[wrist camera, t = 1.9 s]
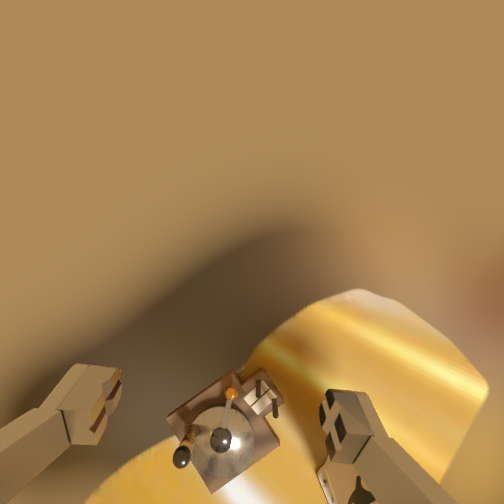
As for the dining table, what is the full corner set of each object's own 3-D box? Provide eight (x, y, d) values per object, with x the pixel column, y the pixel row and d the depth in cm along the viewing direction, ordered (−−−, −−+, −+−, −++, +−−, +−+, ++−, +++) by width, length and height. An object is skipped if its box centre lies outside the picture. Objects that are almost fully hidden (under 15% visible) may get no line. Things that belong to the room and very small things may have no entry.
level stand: (300, 424, 59) (306, 448, 51) (213, 486, 58) (205, 520, 50) (253, 354, 61) (252, 366, 53) (168, 414, 60) (154, 435, 52)
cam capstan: (265, 388, 58) (266, 417, 46) (246, 481, 56) (243, 534, 45) (199, 372, 58) (185, 396, 47) (178, 463, 57) (158, 510, 46)
